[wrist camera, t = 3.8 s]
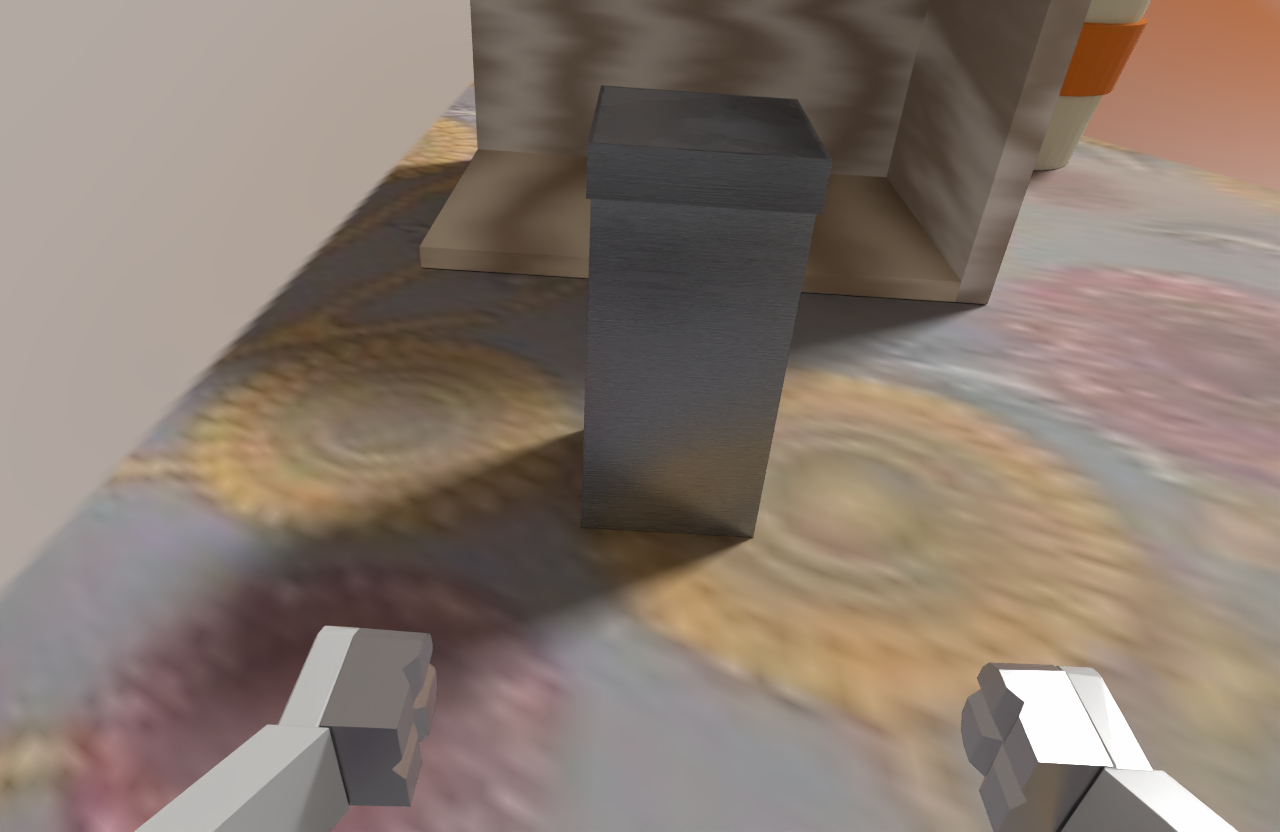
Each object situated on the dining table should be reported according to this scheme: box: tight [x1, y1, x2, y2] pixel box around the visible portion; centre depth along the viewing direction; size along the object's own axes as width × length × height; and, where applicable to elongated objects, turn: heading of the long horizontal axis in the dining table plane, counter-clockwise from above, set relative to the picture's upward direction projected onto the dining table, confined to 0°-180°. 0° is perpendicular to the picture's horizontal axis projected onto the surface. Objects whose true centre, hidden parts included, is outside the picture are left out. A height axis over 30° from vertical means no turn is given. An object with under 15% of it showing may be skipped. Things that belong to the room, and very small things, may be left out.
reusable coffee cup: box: [1034, 0, 1151, 170], centre depth 55 cm, size 13×13×15 cm
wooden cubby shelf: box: [419, 0, 1092, 304], centre depth 38 cm, size 26×16×20 cm, turn 89°
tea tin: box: [581, 85, 833, 537], centre depth 22 cm, size 5×5×11 cm
